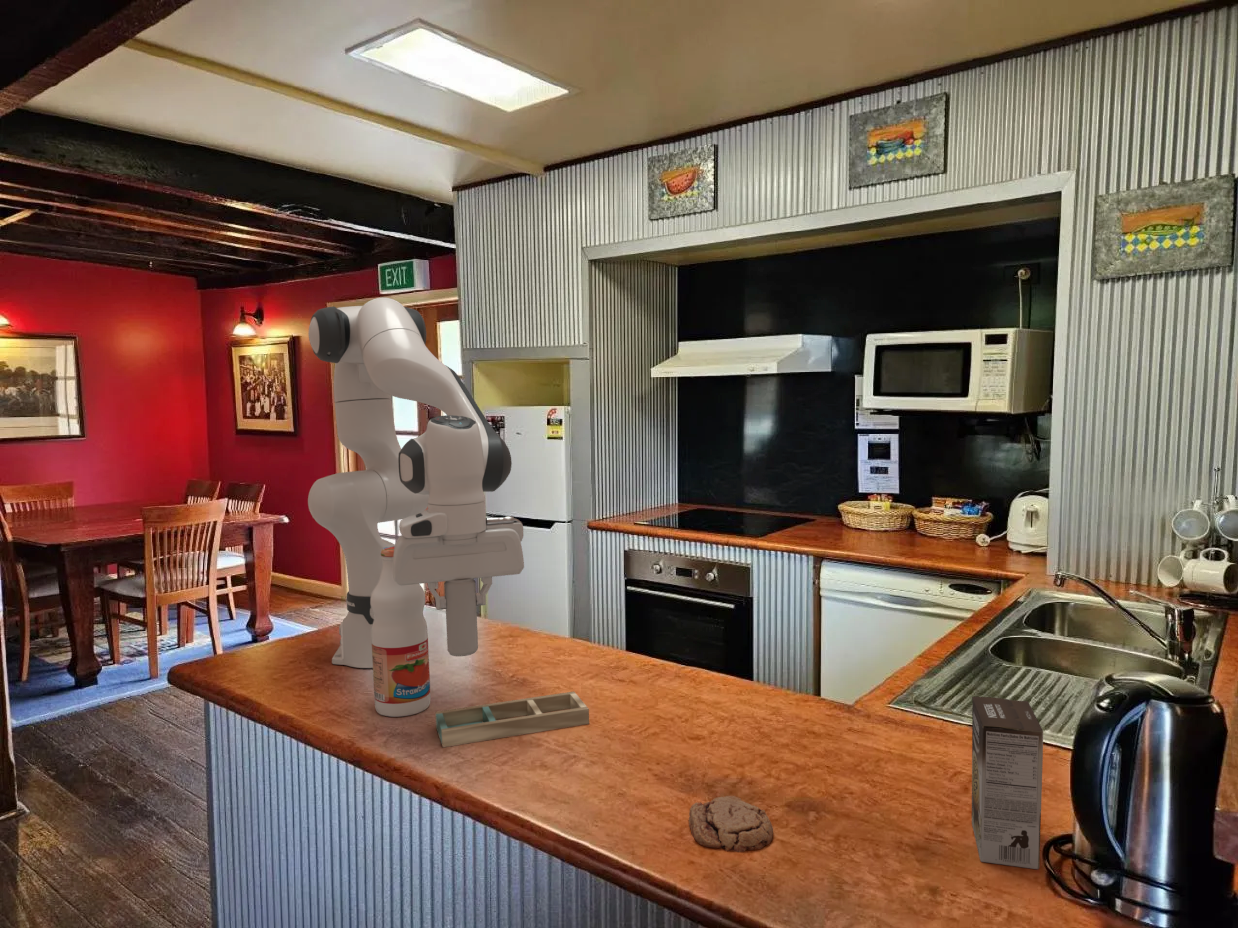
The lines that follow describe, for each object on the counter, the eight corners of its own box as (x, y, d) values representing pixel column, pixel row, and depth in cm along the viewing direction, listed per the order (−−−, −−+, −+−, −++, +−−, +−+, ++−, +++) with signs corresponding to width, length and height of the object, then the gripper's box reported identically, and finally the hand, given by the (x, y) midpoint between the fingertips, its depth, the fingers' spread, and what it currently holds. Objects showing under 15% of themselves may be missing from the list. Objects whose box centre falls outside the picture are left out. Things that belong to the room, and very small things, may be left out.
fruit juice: (400, 694, 151) (392, 541, 148) (442, 701, 146) (435, 544, 144) (363, 713, 142) (354, 551, 140) (406, 721, 138) (398, 555, 136)
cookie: (763, 862, 95) (763, 837, 95) (675, 844, 99) (675, 820, 99) (782, 820, 104) (781, 797, 104) (701, 805, 109) (700, 783, 108)
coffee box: (969, 822, 102) (971, 694, 101) (1026, 828, 101) (1029, 699, 99) (978, 862, 94) (980, 723, 92) (1041, 870, 92) (1044, 729, 90)
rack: (435, 726, 136) (435, 711, 135) (574, 705, 143) (574, 691, 143) (442, 747, 128) (442, 731, 127) (589, 723, 135) (588, 708, 135)
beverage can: (481, 648, 134) (478, 574, 133) (474, 656, 129) (471, 580, 128) (451, 648, 134) (448, 574, 133) (443, 657, 129) (440, 580, 129)
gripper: (518, 512, 136) (521, 595, 138) (389, 521, 130) (393, 608, 131) (527, 518, 130) (530, 604, 132) (392, 527, 124) (396, 619, 125)
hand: (460, 606), depth 131 cm, fingers closed on beverage can, 5 cm apart
